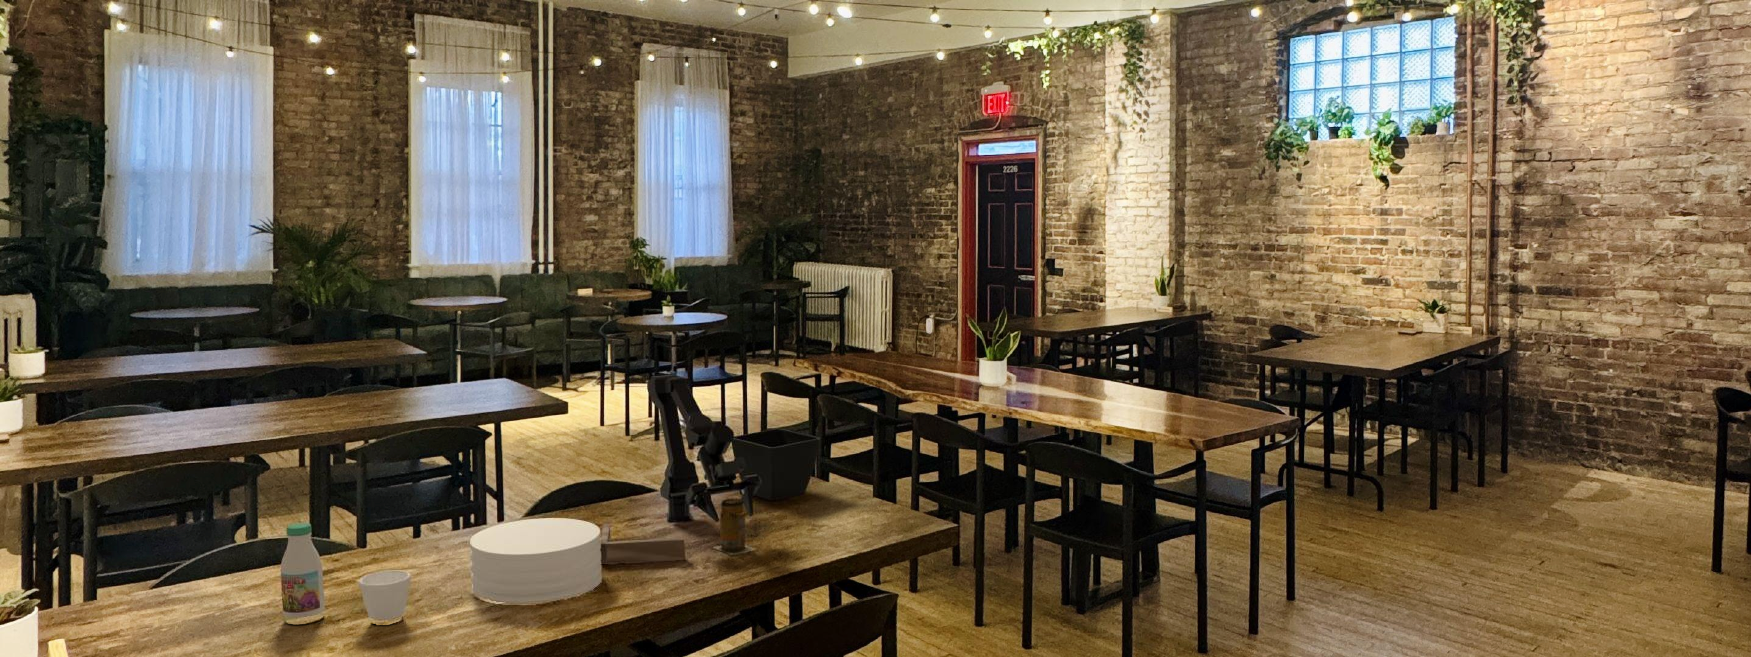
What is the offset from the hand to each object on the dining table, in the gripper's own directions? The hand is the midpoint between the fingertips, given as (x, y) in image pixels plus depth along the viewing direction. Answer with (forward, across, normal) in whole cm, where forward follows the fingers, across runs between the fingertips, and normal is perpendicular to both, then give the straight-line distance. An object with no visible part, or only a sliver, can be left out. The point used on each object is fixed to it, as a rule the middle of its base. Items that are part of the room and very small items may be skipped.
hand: (735, 518), depth 289 cm
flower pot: (-24, +34, +35) cm, 54 cm away
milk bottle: (+1, -95, +10) cm, 96 cm away
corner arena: (-2, -20, +13) cm, 24 cm away
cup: (+8, -81, +3) cm, 82 cm away
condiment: (+5, 0, +6) cm, 8 cm away
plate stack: (+5, -48, +7) cm, 49 cm away
